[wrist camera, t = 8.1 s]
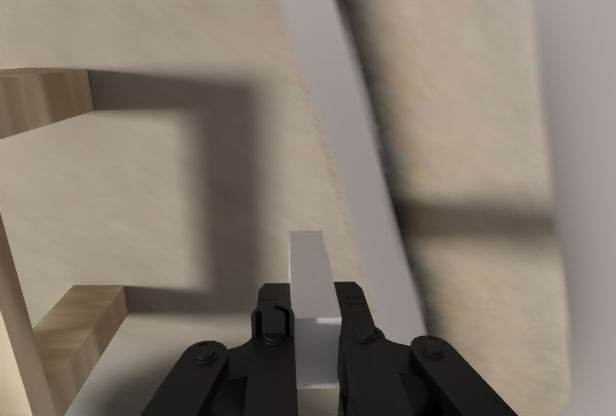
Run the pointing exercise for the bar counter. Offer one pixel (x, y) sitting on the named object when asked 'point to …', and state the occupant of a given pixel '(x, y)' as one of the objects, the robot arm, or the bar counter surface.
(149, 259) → the bar counter surface
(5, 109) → the bridge
